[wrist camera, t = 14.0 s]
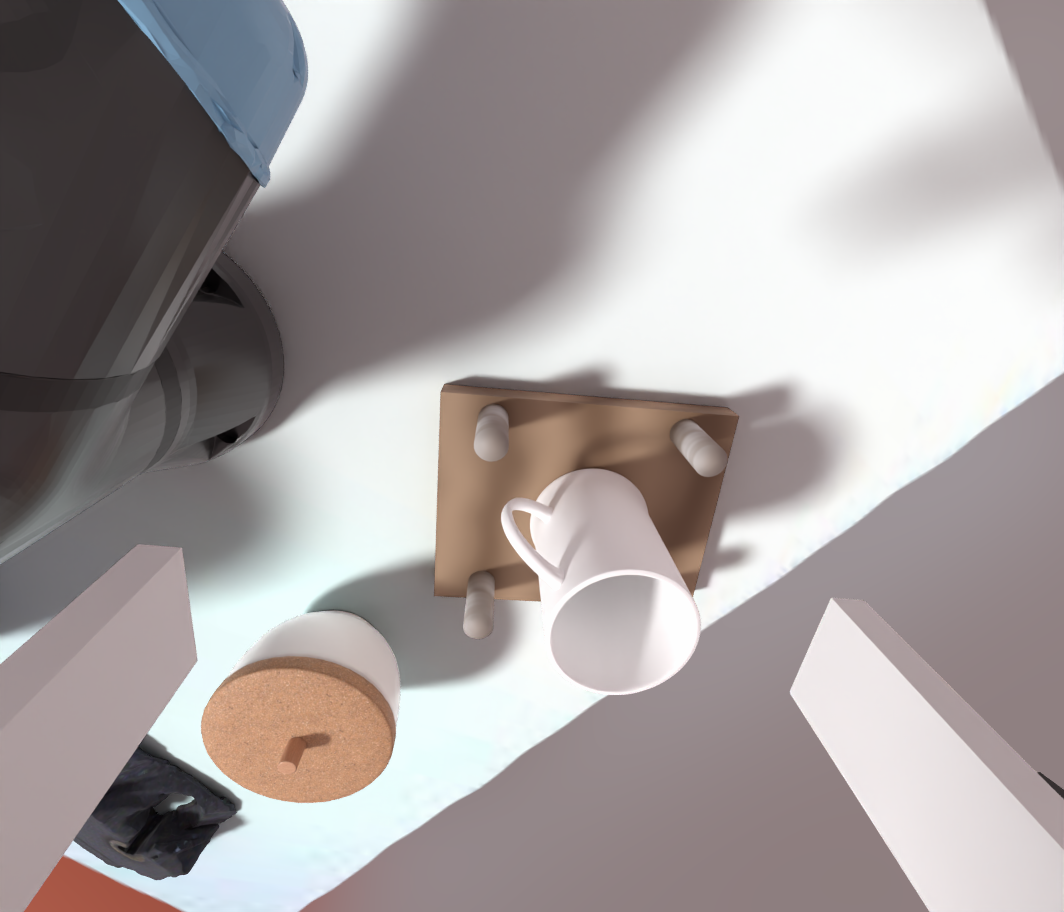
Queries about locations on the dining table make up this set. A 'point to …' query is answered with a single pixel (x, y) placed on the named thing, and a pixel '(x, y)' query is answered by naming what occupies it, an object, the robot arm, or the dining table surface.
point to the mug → (605, 584)
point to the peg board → (550, 452)
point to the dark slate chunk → (152, 820)
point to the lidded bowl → (307, 710)
